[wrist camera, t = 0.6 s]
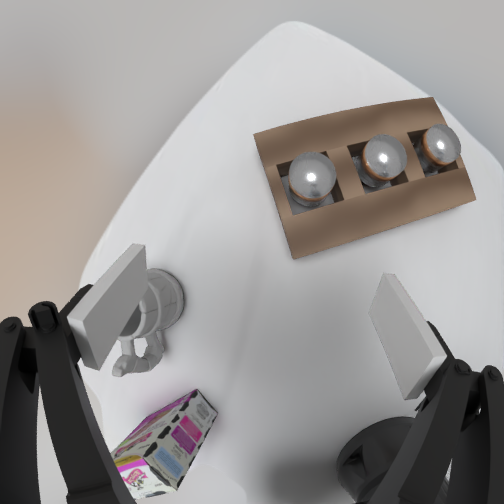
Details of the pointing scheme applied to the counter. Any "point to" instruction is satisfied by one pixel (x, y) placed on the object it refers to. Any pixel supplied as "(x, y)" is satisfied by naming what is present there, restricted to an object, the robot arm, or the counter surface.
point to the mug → (149, 323)
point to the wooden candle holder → (347, 179)
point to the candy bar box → (164, 446)
